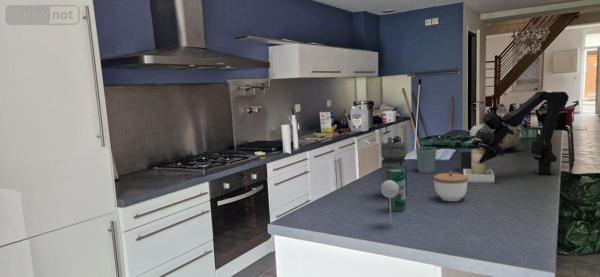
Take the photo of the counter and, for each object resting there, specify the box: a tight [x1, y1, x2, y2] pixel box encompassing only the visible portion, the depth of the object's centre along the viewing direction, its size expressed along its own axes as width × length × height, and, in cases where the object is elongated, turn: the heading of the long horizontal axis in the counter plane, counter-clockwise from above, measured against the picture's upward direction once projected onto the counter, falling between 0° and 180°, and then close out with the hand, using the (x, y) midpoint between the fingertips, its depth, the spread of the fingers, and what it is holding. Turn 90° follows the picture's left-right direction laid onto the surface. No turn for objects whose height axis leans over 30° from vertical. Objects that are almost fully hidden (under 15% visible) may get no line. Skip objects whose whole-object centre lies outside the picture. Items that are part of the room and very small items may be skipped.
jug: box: [477, 102, 525, 150], centre depth 259 cm, size 24×21×30 cm
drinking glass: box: [415, 146, 437, 174], centre depth 216 cm, size 10×10×12 cm
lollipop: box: [380, 180, 399, 225], centre depth 139 cm, size 6×6×15 cm
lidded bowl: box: [433, 171, 468, 202], centre depth 164 cm, size 13×13×11 cm
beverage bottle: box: [380, 135, 408, 196], centre depth 174 cm, size 10×13×25 cm
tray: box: [462, 168, 495, 184], centre depth 193 cm, size 13×13×4 cm
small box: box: [457, 148, 471, 173], centre depth 214 cm, size 11×6×10 cm, turn 168°
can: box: [387, 168, 407, 212], centre depth 155 cm, size 6×6×15 cm
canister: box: [470, 148, 486, 175], centre depth 192 cm, size 6×6×12 cm
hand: (475, 161), depth 192 cm, fingers closed on canister, 6 cm apart
